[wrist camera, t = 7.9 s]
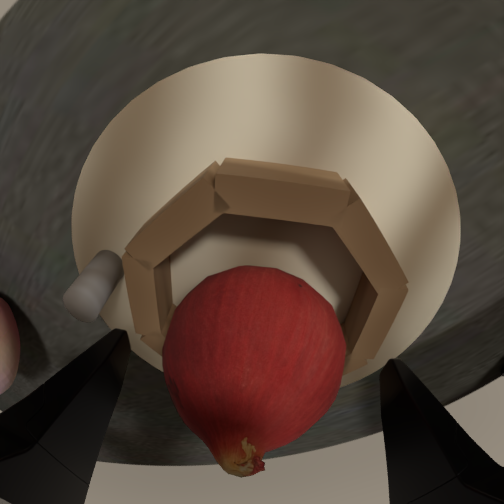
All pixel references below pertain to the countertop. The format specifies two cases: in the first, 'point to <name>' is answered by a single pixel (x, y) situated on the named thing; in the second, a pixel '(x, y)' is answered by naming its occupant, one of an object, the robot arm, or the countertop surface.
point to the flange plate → (266, 202)
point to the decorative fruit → (8, 346)
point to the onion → (252, 362)
